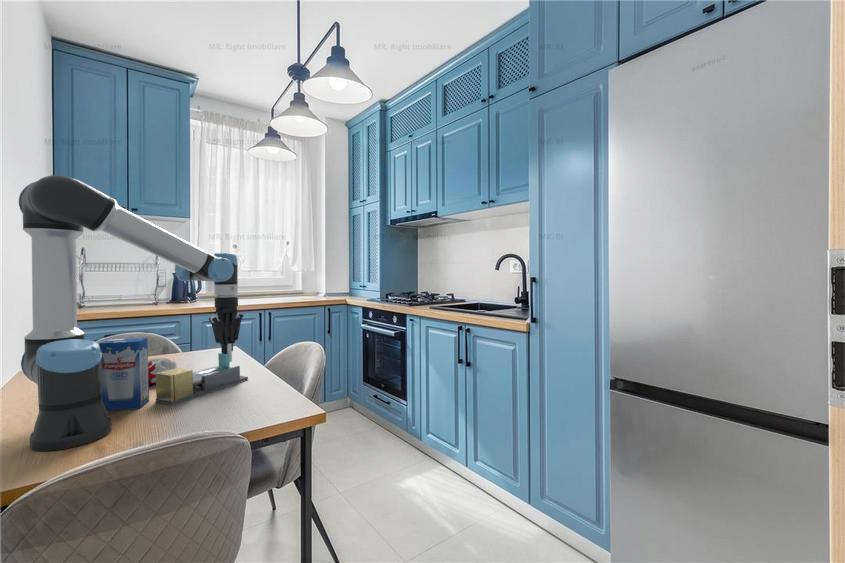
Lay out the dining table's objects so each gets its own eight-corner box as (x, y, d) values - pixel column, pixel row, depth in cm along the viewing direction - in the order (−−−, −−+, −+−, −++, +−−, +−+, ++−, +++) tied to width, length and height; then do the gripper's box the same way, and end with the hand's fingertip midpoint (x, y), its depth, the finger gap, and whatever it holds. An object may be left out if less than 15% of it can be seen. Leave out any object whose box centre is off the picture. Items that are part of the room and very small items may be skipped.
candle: (179, 376, 147) (151, 394, 132) (149, 376, 147) (118, 394, 132) (177, 353, 145) (148, 369, 131) (147, 353, 146) (115, 368, 131)
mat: (172, 405, 118) (172, 402, 118) (155, 401, 121) (155, 398, 121) (247, 379, 145) (247, 376, 145) (232, 377, 148) (232, 374, 148)
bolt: (189, 389, 125) (188, 363, 125) (181, 388, 127) (180, 362, 127) (230, 376, 140) (229, 353, 139) (222, 375, 141) (221, 352, 141)
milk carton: (101, 411, 113) (98, 343, 112) (111, 404, 119) (109, 339, 118) (141, 408, 116) (138, 341, 115) (149, 401, 122) (147, 337, 121)
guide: (171, 401, 118) (171, 375, 118) (156, 398, 121) (155, 373, 121) (239, 379, 142) (239, 357, 141) (225, 377, 144) (225, 355, 144)
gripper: (218, 297, 132) (219, 366, 133) (248, 295, 144) (249, 358, 145) (202, 297, 135) (203, 364, 136) (233, 294, 147) (234, 356, 148)
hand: (227, 361), depth 141 cm, fingers closed
